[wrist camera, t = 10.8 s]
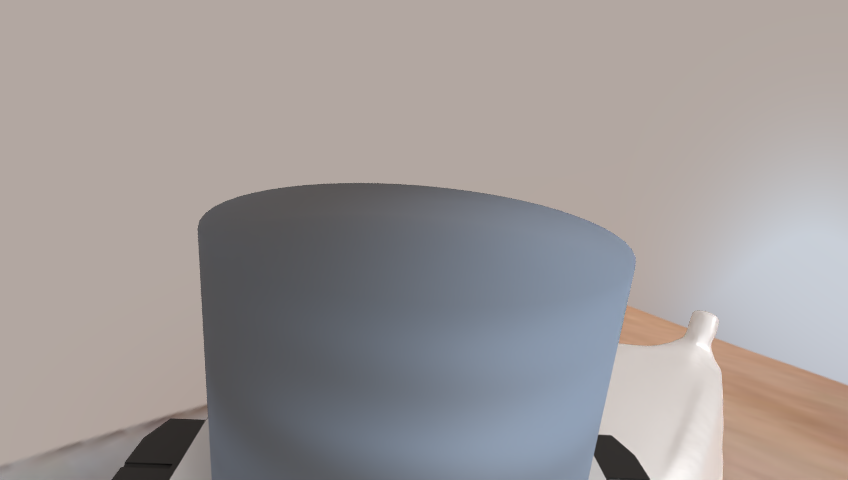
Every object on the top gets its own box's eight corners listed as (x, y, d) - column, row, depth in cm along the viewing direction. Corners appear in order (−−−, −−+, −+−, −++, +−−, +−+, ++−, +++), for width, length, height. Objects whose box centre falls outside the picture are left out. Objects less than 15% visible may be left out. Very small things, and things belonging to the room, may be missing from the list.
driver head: (846, 336, 20) (655, 229, 15) (798, 611, 18) (564, 589, 13) (636, 307, 29) (478, 237, 24) (591, 485, 27) (411, 446, 23)
